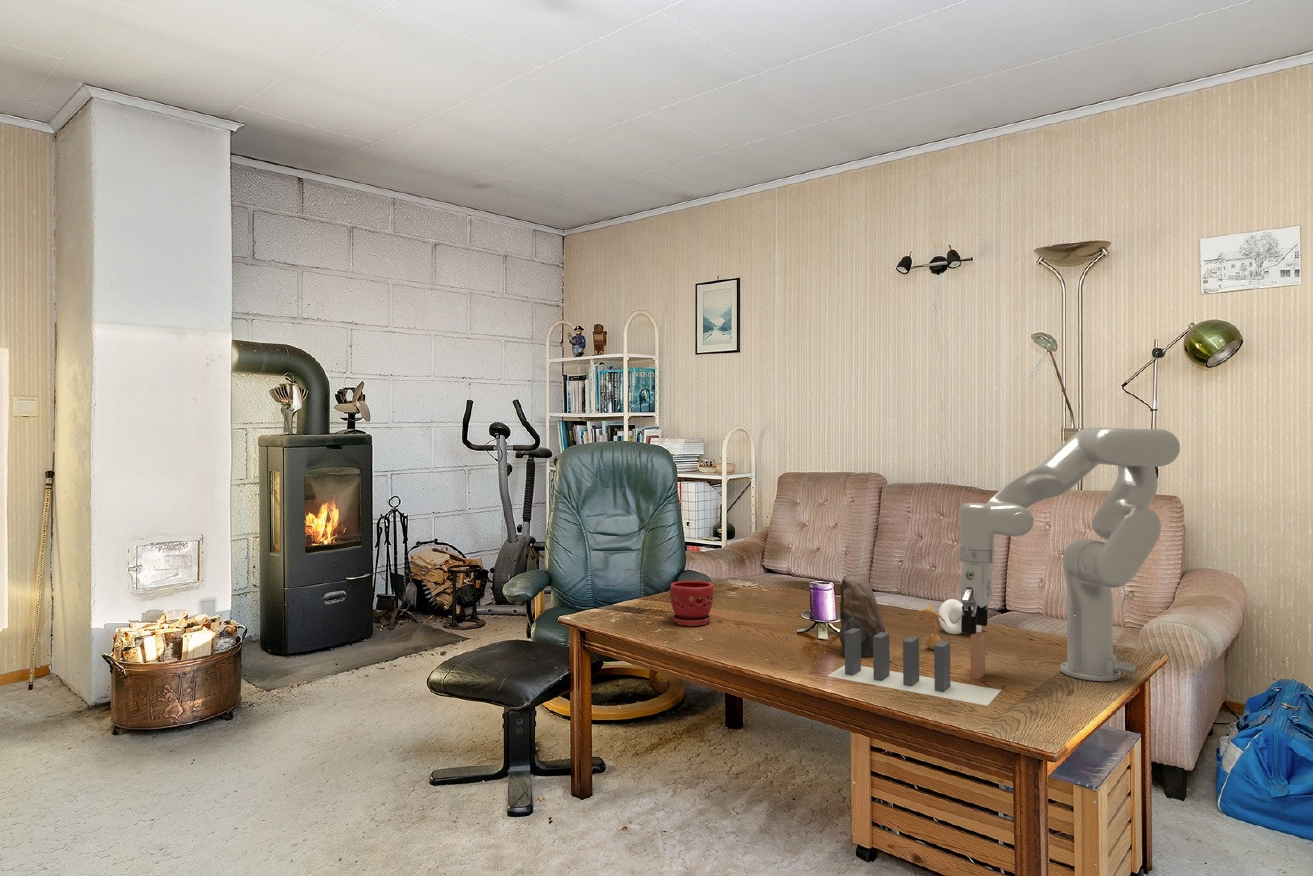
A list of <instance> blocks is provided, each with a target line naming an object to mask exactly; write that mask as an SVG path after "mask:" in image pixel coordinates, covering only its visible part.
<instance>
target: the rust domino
mask: <svg viewBox="0 0 1313 876" xmlns="http://www.w3.org/2000/svg"><path fill="white" fill-rule="evenodd" d="M969 640H970V648H969V649H970V650H969V651H970V678H972V679H976V680H977V679H978V680H980V679H981V678H982V677H983V676H985V674H986V633H985V632H983V631H981V632H976V634H970V638H969Z"/></svg>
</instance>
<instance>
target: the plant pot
mask: <svg viewBox="0 0 1313 876" xmlns="http://www.w3.org/2000/svg"><path fill="white" fill-rule="evenodd" d="M669 589H670V591H669V592H670V593H669V594H670V595H669V597H670V603H671V607H672V610H673V612H674V615H672V620H673V621H674V622H675V623H676V624H678V625H681V626H686V627H692V626H693V627H696V626H704V625H707V624H708V623H709V622H710V621H711V615H709V614H710V613H711V610H712V606H713V602H714V590H715V589H714V584H713V583H711V582H707V581H699V580H683V581H682V580H681V581H675V582H671V584H670V588H669ZM691 597H693V599H690V598H691Z"/></svg>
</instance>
